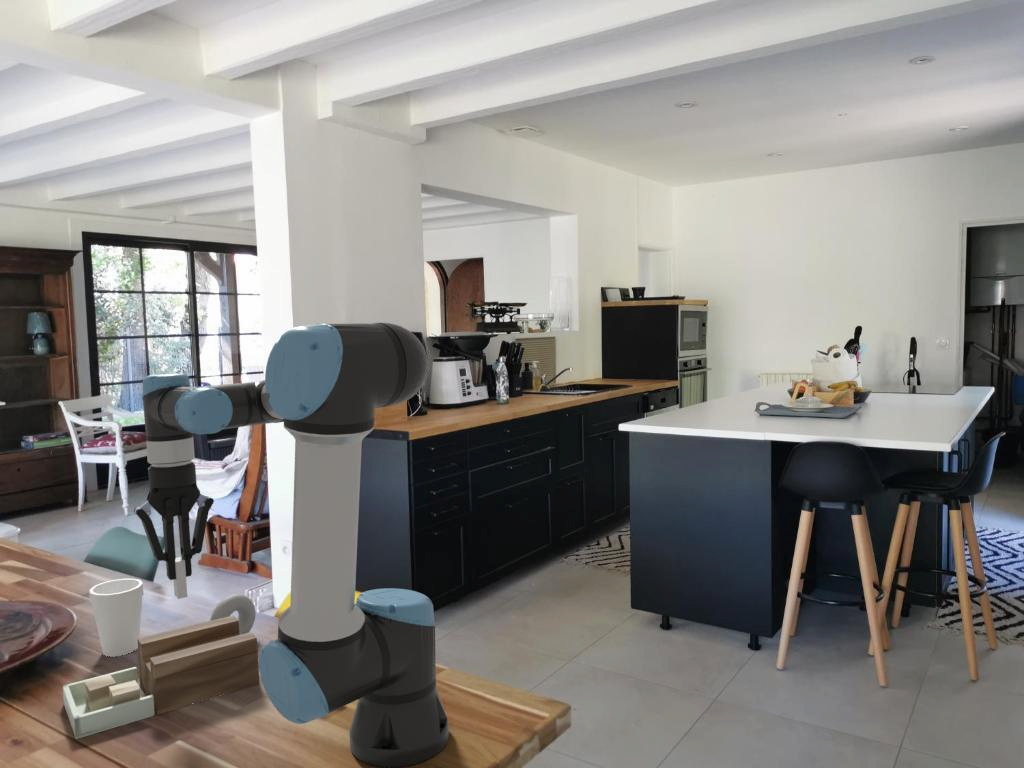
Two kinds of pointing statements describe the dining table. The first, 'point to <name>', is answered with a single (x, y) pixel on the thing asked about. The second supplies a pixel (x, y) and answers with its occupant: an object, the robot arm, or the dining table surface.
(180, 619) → the dining table surface
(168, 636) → the slot board
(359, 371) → the robot arm
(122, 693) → the beige wooden cube
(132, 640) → the foam cup
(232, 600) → the donut
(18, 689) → the dining table surface
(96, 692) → the tan wooden cube
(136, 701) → the tray
